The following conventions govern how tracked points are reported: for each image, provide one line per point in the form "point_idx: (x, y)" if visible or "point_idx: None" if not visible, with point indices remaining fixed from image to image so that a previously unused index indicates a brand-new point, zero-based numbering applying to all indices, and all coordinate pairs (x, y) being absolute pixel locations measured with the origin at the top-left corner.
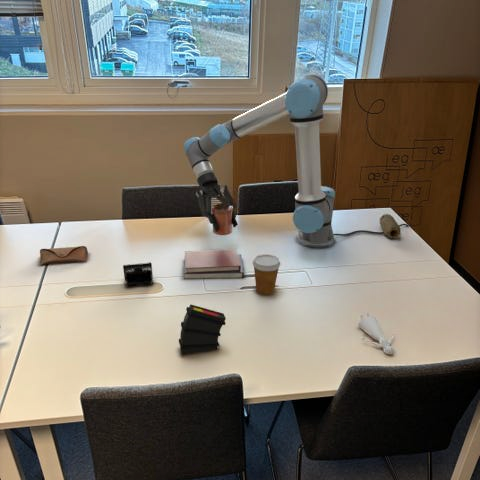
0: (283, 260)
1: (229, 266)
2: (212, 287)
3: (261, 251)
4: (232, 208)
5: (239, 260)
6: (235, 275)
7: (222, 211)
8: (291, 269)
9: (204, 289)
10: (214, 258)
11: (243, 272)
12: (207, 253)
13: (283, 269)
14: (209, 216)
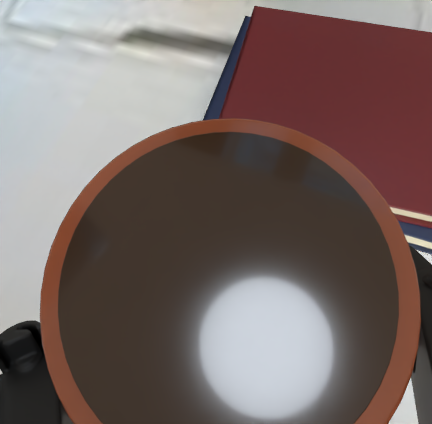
0: (17, 120)
1: (306, 15)
2: (388, 9)
3: (50, 235)
4: (78, 202)
5: (218, 113)
6: None
7: (277, 125)
8: (38, 48)
9: (423, 4)
10: (359, 99)
11: (246, 16)
12: (384, 166)
13: (65, 55)
14: (427, 267)
